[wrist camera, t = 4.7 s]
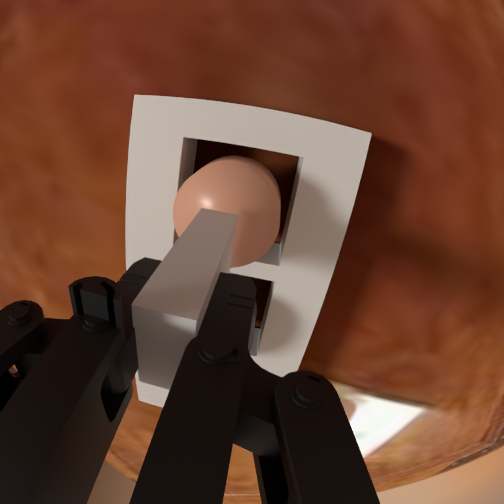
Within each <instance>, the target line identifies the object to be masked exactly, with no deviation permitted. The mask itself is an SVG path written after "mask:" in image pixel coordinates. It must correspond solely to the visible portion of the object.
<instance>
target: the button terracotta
mask: <svg viewBox="0 0 504 504" xmlns="http://www.w3.org/2000/svg"><path fill="white" fill-rule="evenodd" d="M201 208H205V209H210V210H216V211H221V212H227V213H232V214H237V215H239V216H238V222H237V228H236V234H235V241H234V247H233V253H232V259H231V266H230V268H235V267H241V266H245V265H248V264H251V263H253V262H255V261H257V260H258V259H260V258H261V257H262V256H263V255H265V254H266V253H267V252H268V250H269V249H270V248H271V247H272V245H273V243H274V242H275V240H276V237H277V235H278V231H279V226H280V209H281V196H280V190H279V186H278V184H277V182H276V180H275V178H274V176H273V175H272V174H271V172H270V171H269V170H268V169H267V168H266V167H265V166H264V165H262V164H261V163H259V162H258V161H256V160H254V159H251V158H249V157H245V156H239V155H229V156H223V157H220V158H217V159H215V160H213V161H211V162H210V163H208V164H207V165H205V166H204V167H202V168H201V169H200V170H198V171H197V172H196V173H194V174H193V175H192V176H190V177H189V178H188V179H187V180H186V181H185V182H184V183H183V185H182V186H181V188H180V189H179V191H178V193H177V195H176V197H175V201H174V205H173V223H174V227H175V230H176V233H177V235H178V237H180V236H181V234H182V233H183V232H184V231H185V229H186V228H187V227H188V225H189V224H190V223H191V221H192V220H193V219H194V217H195V216H196V215H197V213H198V212H199V211H200V210H201Z"/></svg>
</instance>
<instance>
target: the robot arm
mask: <svg viewBox="0 0 504 504" xmlns="http://www.w3.org/2000/svg"><path fill="white" fill-rule="evenodd" d="M238 216H239V215H237V214H232V213H227V212H221V211H216V210H210V209H205V208H201V210H200V211H199V212H198V213H197V215H196V216H195V217H194V219H193V220H192V221H191V223H190V224H189V225H188V227H187V228H186V229H185V231H184V232H183V233H182V234H181V236H180V237H179V239H178V240H177V241H176V243H175V244H174V245H173V247H172V248H171V249H170V251H169V252H168V253H167V255H166V256H165V258H164V259H163V260H162V261H161V260H156V259H152V258H147V257H144V258H142V259H140V260H138V261H136V262H134V263H133V264H132V265H131V266H130V267H129V269H128V270H127V271H126V273H125V274H123V276H122V277H121V278H120V280H119V281H118V282H117V283H115V282H114V281H113V280H110V279H108V278H105V277H98V276H93V277H85V278H82V279H79V280H76V281H74V282H73V283H72V284H70V285H69V292H70V297H71V303H72V308H73V313H74V315H73V316H72V317H71V318H70V319H53V318H44V314H43V310H42V308H41V307H40V306H39V304H37V303H35V302H33V301H26V300H22V301H17V302H14V303H12V304H10V305H8V306H6V307H5V308H3V309H2V310H0V504H87V501H88V499H89V496H90V494H91V491H92V489H93V486H94V484H95V481H96V479H97V476H98V474H99V471H100V469H101V467H102V464H103V461H104V459H105V457H106V455H107V452H108V450H109V447H110V445H111V443H112V440H113V438H114V436H115V433H116V431H117V429H118V427H119V424H120V422H121V420H122V417H123V415H124V413H125V411H126V408H127V406H128V404H129V402H130V400H131V397H132V393H133V387H132V380H133V378H134V376H135V374H136V372H137V370H138V376H139V381H140V382H143V383H147V384H150V385H154V386H157V387H161V388H164V389H168V390H169V393H168V396H167V398H166V401H165V404H164V407H163V409H162V412H161V415H160V417H159V420H158V423H157V426H156V428H155V431H154V434H153V437H152V440H151V442H150V445H149V448H148V451H147V454H146V456H145V459H144V462H143V465H142V468H141V471H140V474H139V477H138V479H137V482H136V486H135V488H134V491H133V494H132V497H131V500H130V503H129V504H222V503H223V497H224V492H225V486H226V480H227V474H228V469H229V463H230V457H231V451H232V445H233V443H234V444H236V445H238V446H240V447H242V448H244V449H246V450H248V451H251V452H253V457H254V463H255V468H256V474H257V480H258V485H259V491H260V496H261V502H262V504H380V502H379V499H378V497H377V494H376V491H375V488H374V486H373V483H372V480H371V478H370V475H369V472H368V470H367V467H366V465H365V462H364V459H363V457H362V454H361V452H360V449H359V446H358V444H357V441H356V439H355V436H354V434H353V431H352V428H351V426H350V423H349V421H348V418H347V416H346V414H345V411H344V408H343V406H342V403H341V401H340V398H339V396H338V393H337V391H336V390H335V388H334V387H333V385H332V384H331V383H330V382H329V381H328V380H327V379H325V378H324V377H323V376H321V375H318V374H316V373H313V372H309V371H295V372H290V373H288V374H286V375H285V376H283V377H280V376H278V375H275V374H273V373H271V372H269V371H267V370H265V369H263V368H262V367H260V366H259V365H258V364H257V363H256V362H255V361H254V360H253V358H252V357H251V356H250V353H249V350H248V341H249V335H250V329H251V323H252V316H253V309H254V304H255V297H256V291H257V288H256V286H255V284H254V282H253V280H252V278H248V277H243V276H238V275H233V274H229V272H230V266H231V259H232V253H233V247H234V241H235V234H236V228H237V222H238ZM14 364H15V366H16V368H17V370H18V372H16V373H14V374H13V373H10V372H9V370H8V369H10V368H11V367H12V366H13V365H14Z"/></svg>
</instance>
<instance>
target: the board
mask: <svg viewBox="0 0 504 504" xmlns="http://www.w3.org/2000/svg"><path fill="white" fill-rule="evenodd" d="M371 134H372V133H368V132H365V131H362V130H358V129H354V128H351V127H347V126H343V125H339V124H335V123H332V122H327V121H323V120H319V119H315V118H310V117H306V116H301V115H297V114H292V113H287V112H282V111H276V110H271V109H265V108H260V107H254V106H247V105H241V104H234V103H226V102H219V101H210V100H201V99H191V98H180V97H167V96H149V95H135V96H134V103H133V112H132V120H131V130H130V141H129V153H128V168H127V188H126V271H127V270H128V269H129V267H130V266H131V265H132V264H133V263H134V262H136V261H138V260H140V259H142V258H144V257H147V258H152V259H156V260H161V261H162V260H163V259H164V258H165V256H166V255H167V253H168V252H169V251H170V249H171V248H172V247H173V245H174V244H175V243H176V241H177V240H178V239H179V237H178V235H177V233H176V230H175V227H174V223H173V205H174V201H175V197H176V195H177V193H178V191H179V189H180V188H181V186H182V185H183V183H184V182H185V181H186V180H187V179H188V178H189V177H190V176H192V175H193V173H194V165H195V157H196V150H197V142H198V139H202V140H209V141H216V142H223V143H229V144H236V145H242V146H247V147H253V148H259V149H264V150H270V151H275V152H280V153H285V154H290V155H294V156H299V161H298V166H297V170H296V175H295V180H294V184H293V189H292V193H291V198H290V203H289V207H288V212H287V216H286V221H285V225H284V230H283V234H282V238H281V243H280V244H278V243H273V245H272V247H271V248H270V249H269V250H268V252H267V253H266V254H265V255H263V256H262V257H261V258H260V259H258V260H257V261H255V262H253V263H251V264H248V265H245V266H241V267H235V268H230V272H229V273H234V274H239V275H244V276H249V277H254V278H259V279H264V280H269V281H271V286H270V290H269V294H268V298H267V302H266V307H265V311H264V315H263V319H262V323H261V327H260V329H259V328H255V329H254V336H253V343H252V348H251V351H250V356H251V357H252V358H253V360H254V361H255V362H256V363H257V364H258V365H259V366H260V367H262V368H263V369H265V370H267V371H269V372H271V373H273V374H275V375H278V376H280V377H283V376H285V375H286V374H288V373H290V372H295V371H297V370H298V368H299V365H300V363H301V360H302V358H303V355H304V353H305V350H306V347H307V345H308V342H309V340H310V337H311V334H312V332H313V329H314V326H315V323H316V321H317V318H318V315H319V312H320V310H321V307H322V304H323V301H324V298H325V295H326V292H327V289H328V286H329V283H330V280H331V277H332V274H333V271H334V268H335V265H336V262H337V259H338V256H339V253H340V249H341V246H342V243H343V240H344V236H345V233H346V230H347V226H348V223H349V219H350V216H351V213H352V209H353V205H354V202H355V198H356V195H357V191H358V187H359V183H360V180H361V176H362V172H363V168H364V164H365V160H366V156H367V152H368V147H369V143H370V139H371ZM135 377H136V384H137V391H138V397H139V401H143V402H146V403H149V404H153V405H156V406H160V407H164V404H165V401H166V398H167V396H168V393H169V390H168V389H164V388H161V387H157V386H154V385H150V384H147V383H143V382H140V381H139V376H138V370H137V372H136V374H135Z"/></svg>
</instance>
